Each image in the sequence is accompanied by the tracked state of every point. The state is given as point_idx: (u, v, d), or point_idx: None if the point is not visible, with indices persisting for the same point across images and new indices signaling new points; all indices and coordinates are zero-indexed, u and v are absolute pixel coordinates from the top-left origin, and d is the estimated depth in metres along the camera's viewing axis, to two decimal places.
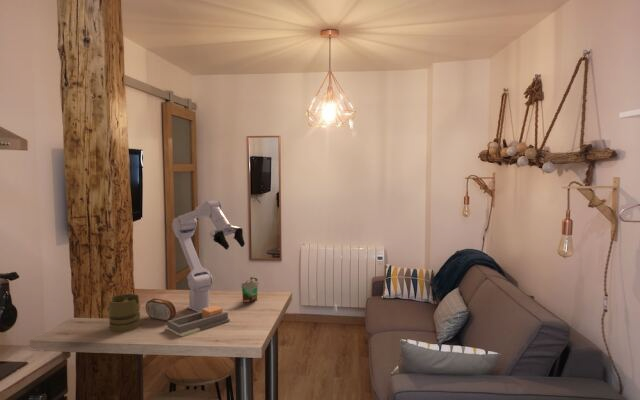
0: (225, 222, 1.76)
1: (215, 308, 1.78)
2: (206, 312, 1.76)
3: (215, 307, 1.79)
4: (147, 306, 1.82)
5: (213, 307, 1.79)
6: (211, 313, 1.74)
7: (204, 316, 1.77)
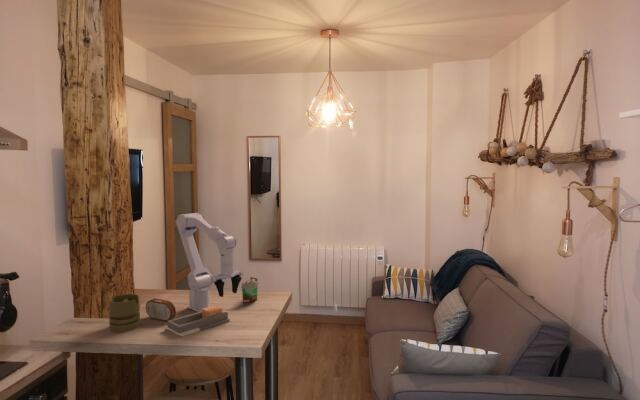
0: (230, 270, 1.80)
1: (215, 308, 1.78)
2: (206, 312, 1.76)
3: (215, 307, 1.79)
4: (147, 306, 1.82)
5: (213, 307, 1.79)
6: (211, 313, 1.74)
7: (204, 316, 1.77)
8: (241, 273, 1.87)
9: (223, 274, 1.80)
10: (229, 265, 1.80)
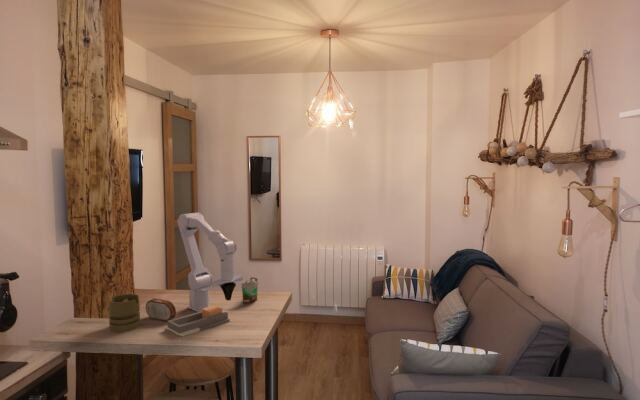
0: (230, 276, 1.81)
1: (215, 308, 1.78)
2: (206, 312, 1.76)
3: (215, 307, 1.79)
4: (147, 306, 1.82)
5: (213, 307, 1.79)
6: (211, 313, 1.74)
7: (204, 316, 1.77)
8: (241, 278, 1.87)
9: (223, 279, 1.80)
10: (229, 270, 1.80)
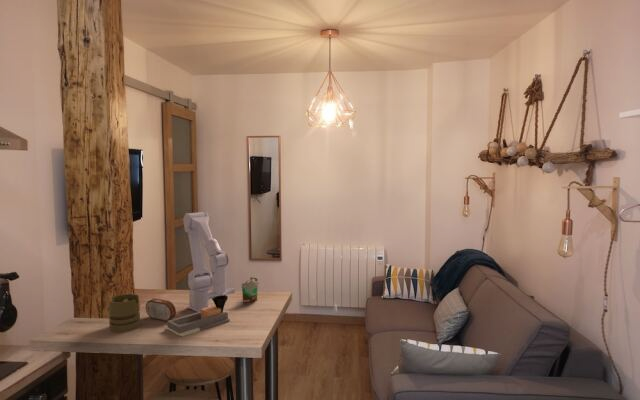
0: (222, 288, 1.78)
1: (214, 308, 1.78)
2: (205, 312, 1.75)
3: (214, 307, 1.79)
4: (147, 306, 1.82)
5: (212, 307, 1.79)
6: (210, 313, 1.74)
7: (203, 316, 1.76)
8: (233, 291, 1.84)
9: (215, 292, 1.78)
10: (221, 283, 1.78)
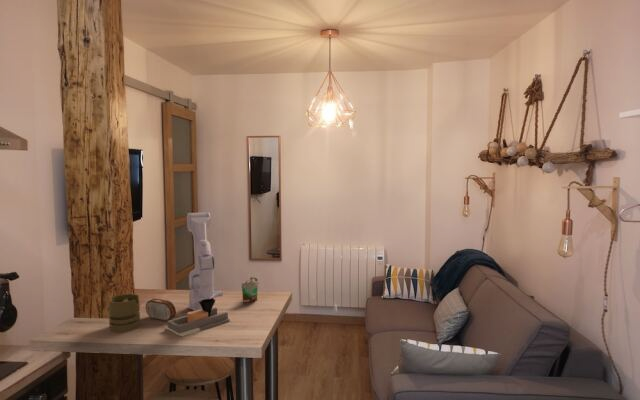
0: (209, 292, 1.74)
1: (201, 312, 1.73)
2: (191, 316, 1.71)
3: (201, 311, 1.75)
4: (147, 306, 1.82)
5: (199, 311, 1.75)
6: (196, 317, 1.70)
7: (189, 320, 1.72)
8: (221, 294, 1.80)
9: (202, 296, 1.73)
10: (208, 286, 1.73)
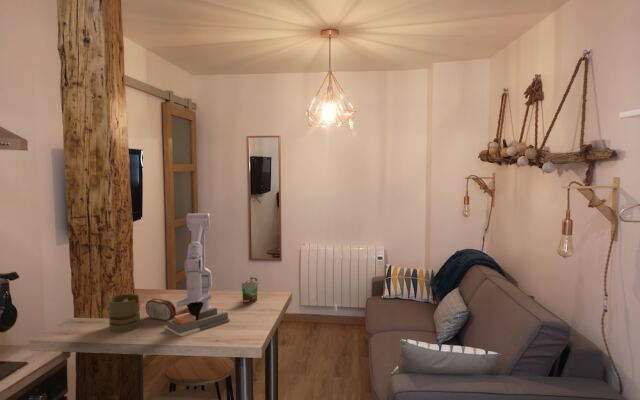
0: (197, 295, 1.70)
1: (188, 316, 1.69)
2: (178, 320, 1.67)
3: (188, 315, 1.71)
4: (147, 306, 1.82)
5: (186, 315, 1.71)
6: (183, 321, 1.66)
7: None
8: (210, 297, 1.76)
9: (189, 299, 1.69)
10: (196, 289, 1.69)
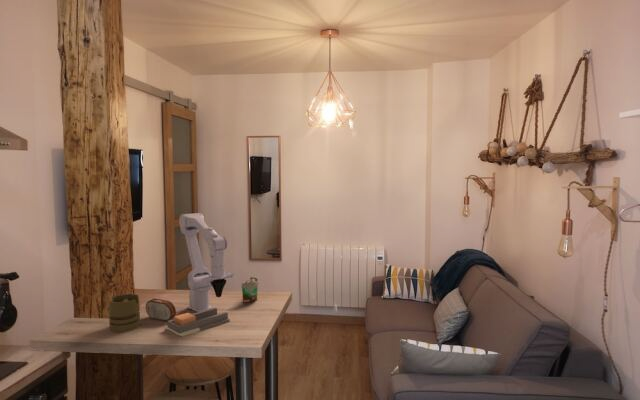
0: (221, 272, 1.78)
1: (188, 316, 1.69)
2: (178, 320, 1.67)
3: (188, 315, 1.71)
4: (147, 306, 1.82)
5: (186, 315, 1.71)
6: (183, 321, 1.65)
7: None
8: (232, 275, 1.84)
9: (213, 276, 1.77)
10: (219, 267, 1.77)
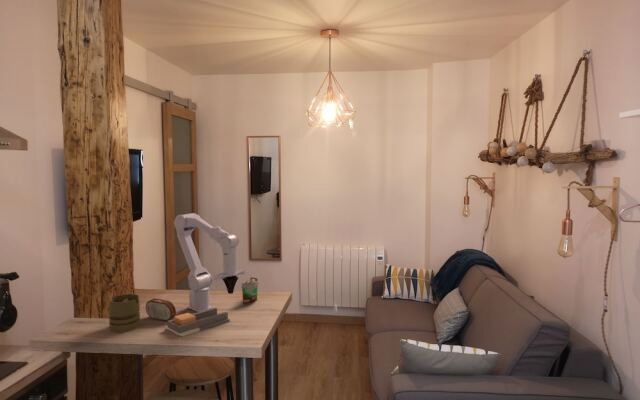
0: (233, 269, 1.83)
1: (188, 316, 1.69)
2: (178, 320, 1.67)
3: (188, 315, 1.71)
4: (147, 306, 1.82)
5: (186, 315, 1.71)
6: (183, 321, 1.65)
7: None
8: (243, 272, 1.89)
9: (226, 273, 1.82)
10: (232, 264, 1.82)
